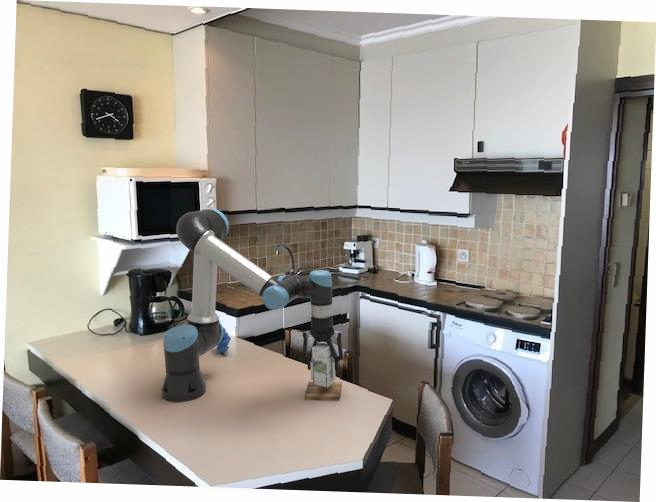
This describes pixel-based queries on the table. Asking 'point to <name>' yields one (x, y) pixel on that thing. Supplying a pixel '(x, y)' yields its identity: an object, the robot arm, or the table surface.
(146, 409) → the table surface
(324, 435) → the table surface
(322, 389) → the square wooden board
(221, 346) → the grapes
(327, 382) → the syrup box
